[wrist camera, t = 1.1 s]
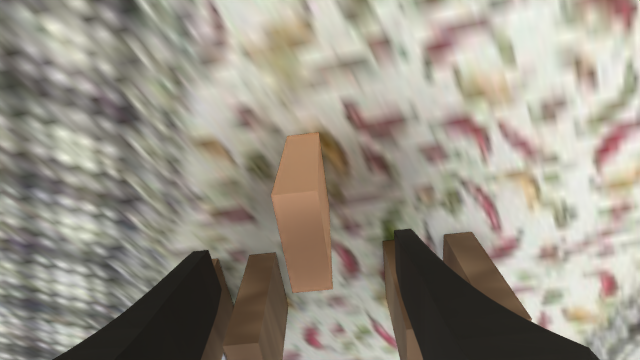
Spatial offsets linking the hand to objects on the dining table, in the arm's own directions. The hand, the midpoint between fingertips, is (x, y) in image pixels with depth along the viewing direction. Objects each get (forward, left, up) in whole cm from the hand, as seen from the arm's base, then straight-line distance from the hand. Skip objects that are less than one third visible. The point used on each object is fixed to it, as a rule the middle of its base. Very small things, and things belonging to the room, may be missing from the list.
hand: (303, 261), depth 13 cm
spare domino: (0, 0, -8) cm, 8 cm away
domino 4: (-8, +4, -8) cm, 12 cm away
